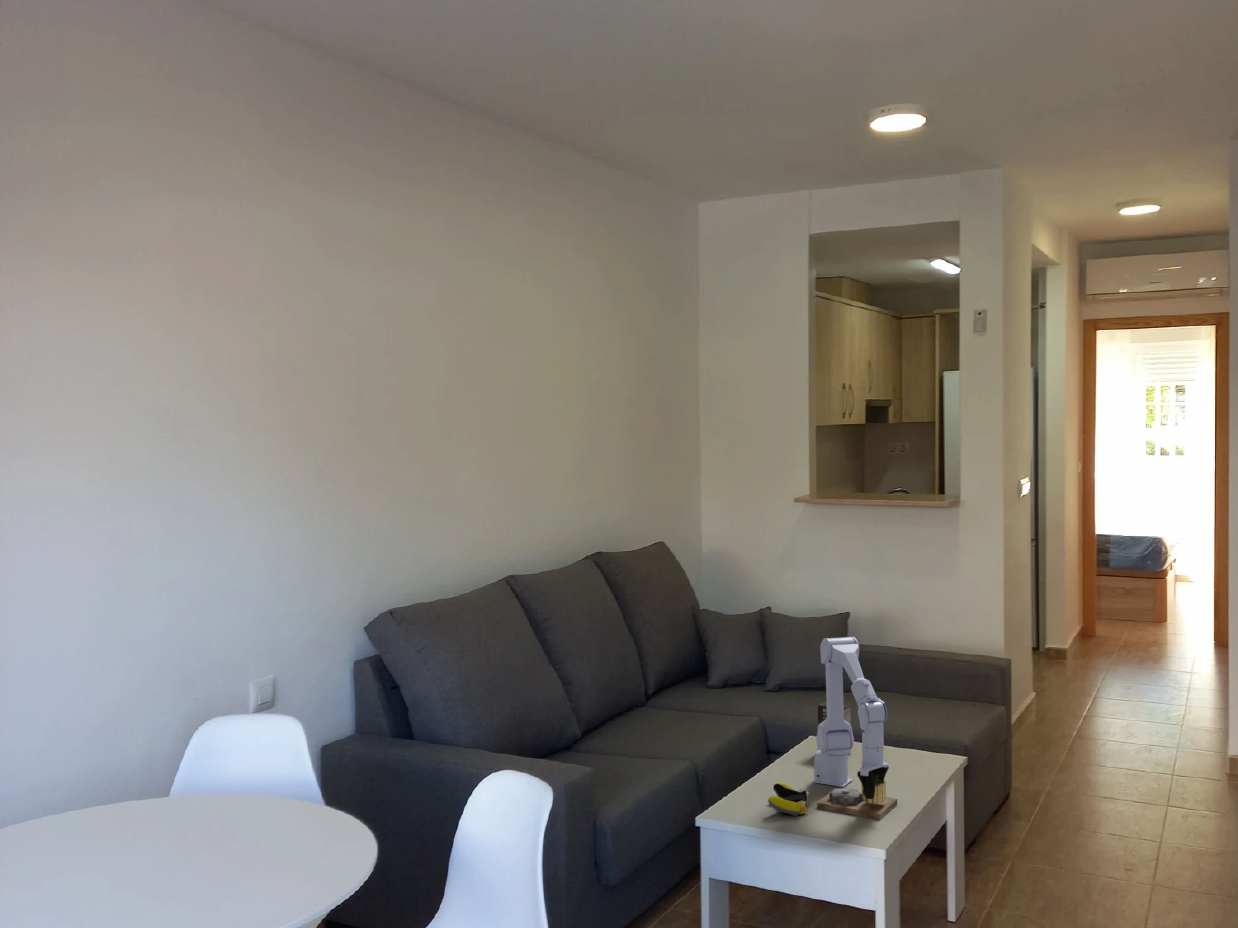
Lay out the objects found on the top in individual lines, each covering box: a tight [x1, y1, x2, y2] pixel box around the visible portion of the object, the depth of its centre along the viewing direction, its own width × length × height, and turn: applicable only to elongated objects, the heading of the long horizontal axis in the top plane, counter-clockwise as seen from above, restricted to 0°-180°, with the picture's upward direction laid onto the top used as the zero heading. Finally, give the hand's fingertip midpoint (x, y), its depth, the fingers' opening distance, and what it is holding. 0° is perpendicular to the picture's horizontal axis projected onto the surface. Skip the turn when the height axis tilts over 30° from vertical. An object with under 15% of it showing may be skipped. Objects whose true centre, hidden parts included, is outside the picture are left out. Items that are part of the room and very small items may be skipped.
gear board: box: [816, 787, 898, 820], centre depth 299 cm, size 18×14×4 cm
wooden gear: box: [861, 780, 887, 804], centre depth 296 cm, size 6×6×5 cm
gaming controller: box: [767, 781, 809, 817], centre depth 298 cm, size 15×6×10 cm
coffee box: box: [817, 701, 852, 756], centre depth 349 cm, size 9×6×16 cm
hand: (873, 795), depth 296 cm, fingers closed on wooden gear, 6 cm apart
